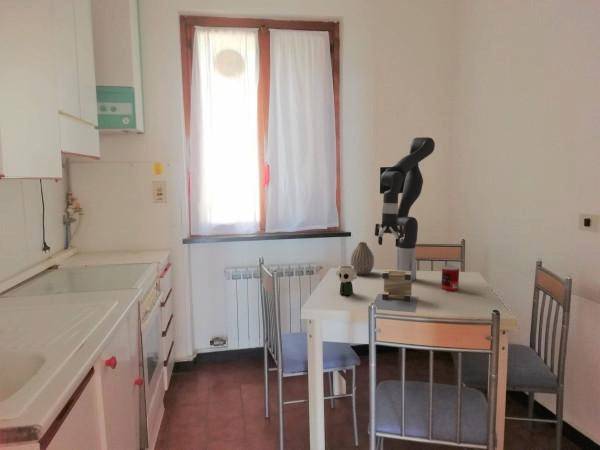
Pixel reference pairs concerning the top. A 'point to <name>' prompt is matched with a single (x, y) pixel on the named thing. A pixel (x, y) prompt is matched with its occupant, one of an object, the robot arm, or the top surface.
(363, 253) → the vase
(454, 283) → the canned food
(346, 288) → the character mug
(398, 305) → the mat
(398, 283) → the stool
